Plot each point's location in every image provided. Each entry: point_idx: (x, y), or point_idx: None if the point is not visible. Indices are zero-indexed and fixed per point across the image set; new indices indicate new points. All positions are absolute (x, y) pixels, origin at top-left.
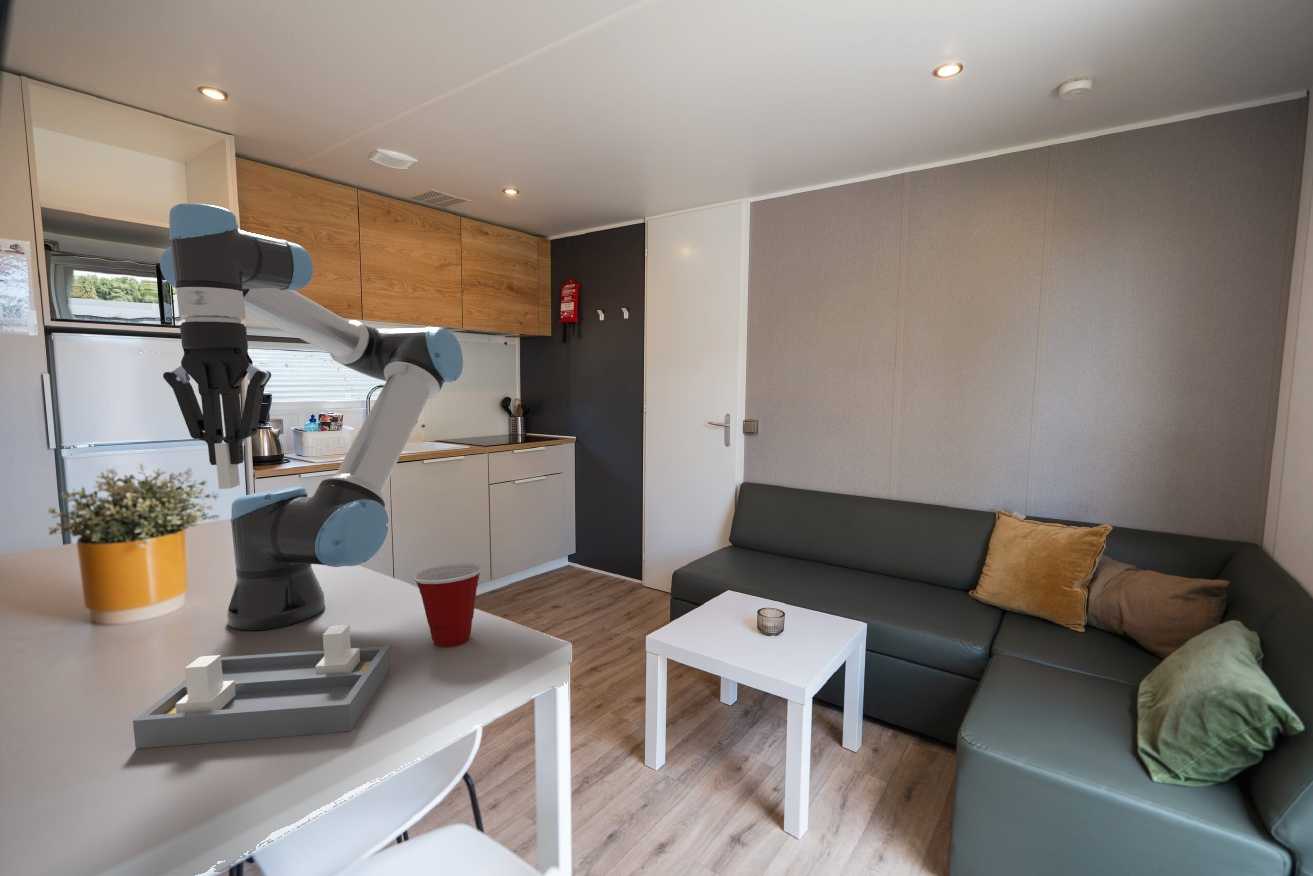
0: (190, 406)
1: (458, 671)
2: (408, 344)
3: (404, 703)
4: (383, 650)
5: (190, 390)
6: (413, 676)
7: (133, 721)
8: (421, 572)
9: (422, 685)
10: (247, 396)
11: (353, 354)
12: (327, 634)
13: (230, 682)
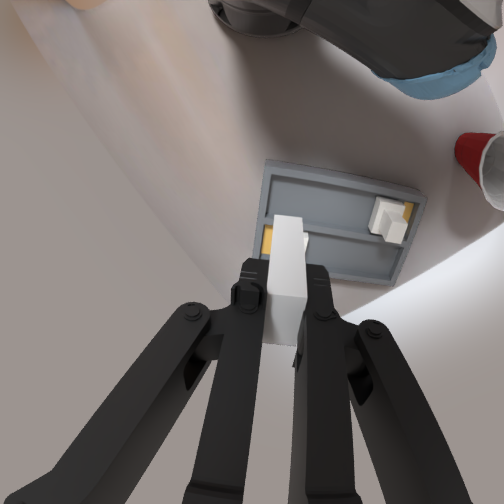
0: (160, 444)
1: (462, 216)
2: None
3: (422, 250)
4: (422, 206)
5: (109, 486)
6: (433, 211)
7: None
8: (488, 147)
9: (436, 229)
10: (389, 494)
11: None
12: (389, 241)
13: (306, 241)
